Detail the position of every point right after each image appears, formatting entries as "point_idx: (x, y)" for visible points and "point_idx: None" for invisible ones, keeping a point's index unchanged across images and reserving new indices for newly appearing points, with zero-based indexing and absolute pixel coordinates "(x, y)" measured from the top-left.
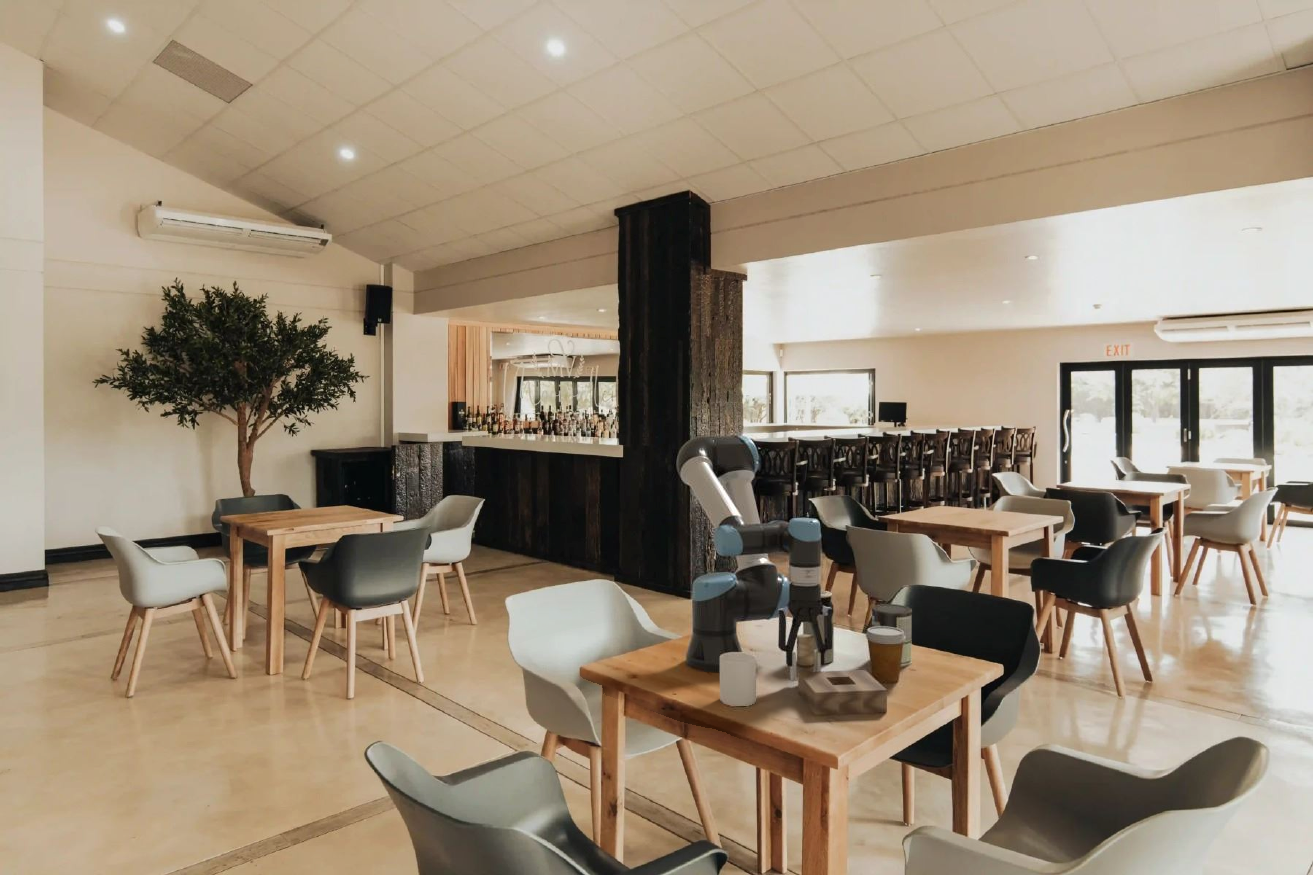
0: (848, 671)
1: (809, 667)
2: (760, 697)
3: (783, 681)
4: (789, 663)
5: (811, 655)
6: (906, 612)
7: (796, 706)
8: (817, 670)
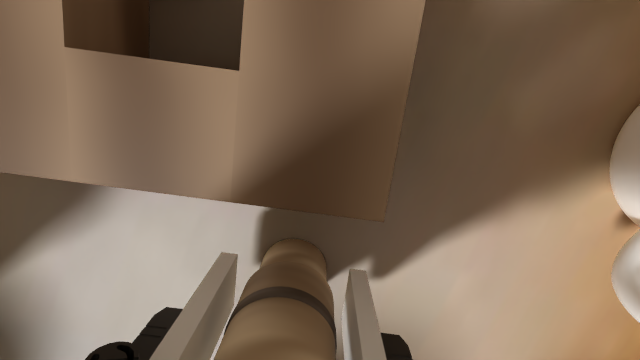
0: (37, 156)
1: (274, 286)
2: (564, 176)
3: None
4: (396, 346)
5: (238, 348)
6: None
7: (457, 10)
8: (223, 281)
